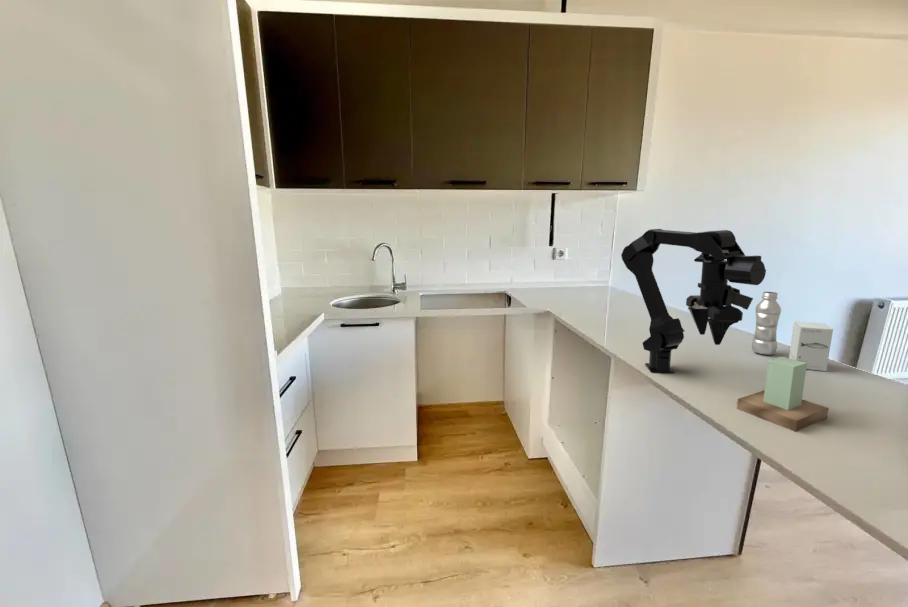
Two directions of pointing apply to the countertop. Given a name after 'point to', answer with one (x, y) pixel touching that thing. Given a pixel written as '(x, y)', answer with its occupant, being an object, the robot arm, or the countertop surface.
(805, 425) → the walnut plinth
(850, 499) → the countertop surface
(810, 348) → the supplement box
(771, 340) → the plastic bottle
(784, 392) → the sage block
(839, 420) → the countertop surface
